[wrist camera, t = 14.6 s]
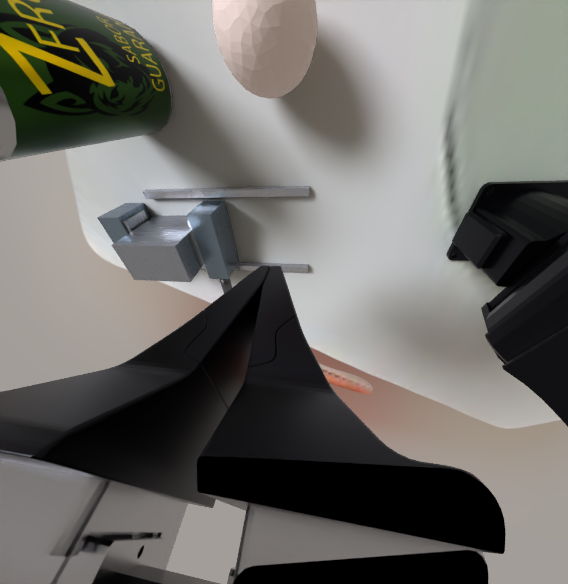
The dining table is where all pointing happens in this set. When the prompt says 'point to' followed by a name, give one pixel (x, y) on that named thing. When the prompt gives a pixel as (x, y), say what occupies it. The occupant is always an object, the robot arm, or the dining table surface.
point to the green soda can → (74, 79)
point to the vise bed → (136, 213)
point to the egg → (266, 42)
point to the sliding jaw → (214, 240)
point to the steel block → (160, 250)
